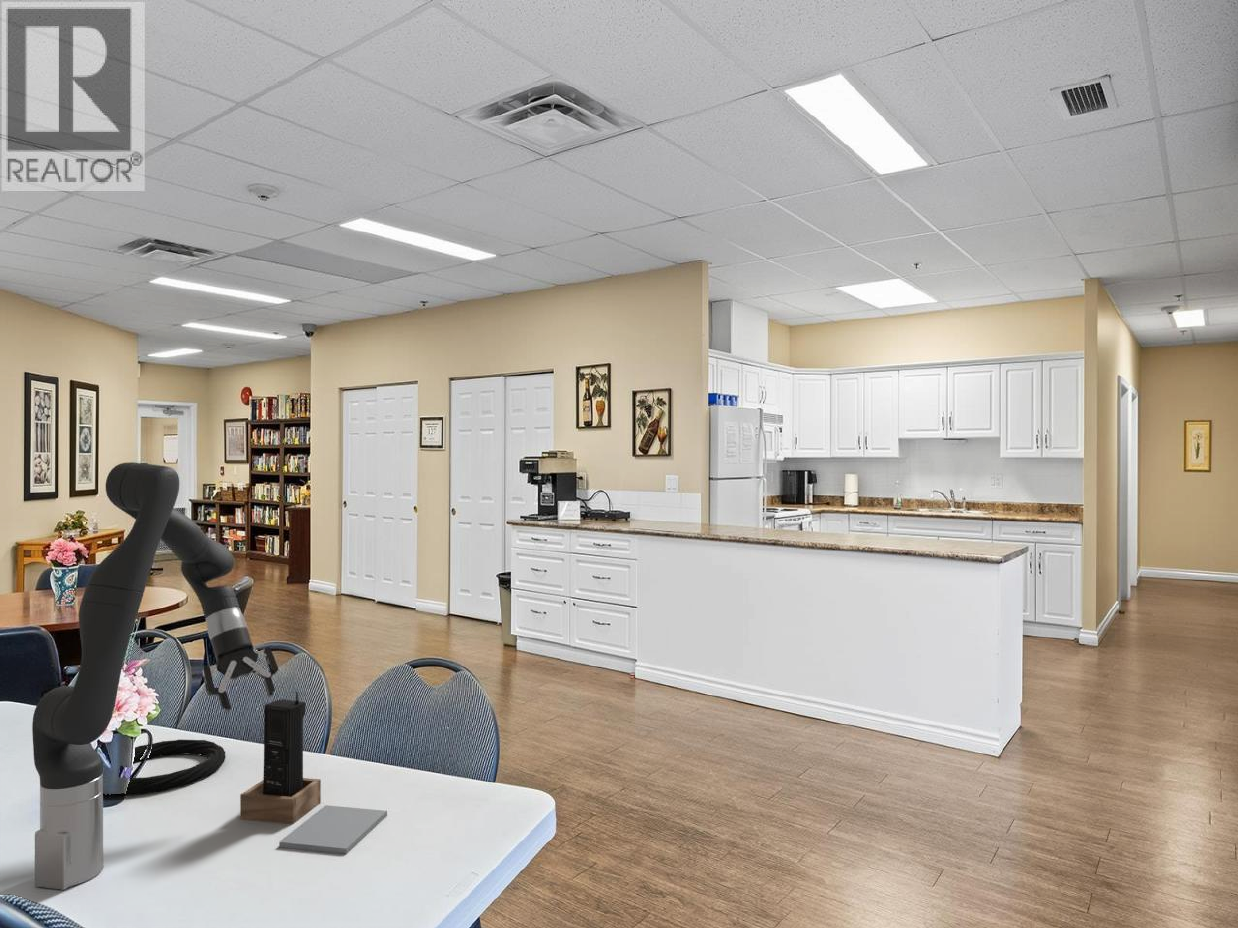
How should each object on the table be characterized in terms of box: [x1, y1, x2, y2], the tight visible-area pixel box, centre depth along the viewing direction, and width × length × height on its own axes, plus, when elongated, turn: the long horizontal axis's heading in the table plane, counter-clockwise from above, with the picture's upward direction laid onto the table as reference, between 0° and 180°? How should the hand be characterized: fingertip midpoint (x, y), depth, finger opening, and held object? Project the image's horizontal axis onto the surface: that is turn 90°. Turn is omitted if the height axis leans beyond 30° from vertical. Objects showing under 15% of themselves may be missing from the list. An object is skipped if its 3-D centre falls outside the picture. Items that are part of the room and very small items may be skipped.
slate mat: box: [278, 804, 388, 855], centre depth 156 cm, size 16×14×1 cm
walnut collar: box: [239, 777, 322, 825], centre depth 164 cm, size 10×12×5 cm
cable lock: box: [125, 739, 226, 796], centre depth 184 cm, size 28×4×30 cm
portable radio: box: [262, 691, 306, 797], centre depth 164 cm, size 8×6×25 cm
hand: (250, 702), depth 168 cm, fingers open, 8 cm apart
